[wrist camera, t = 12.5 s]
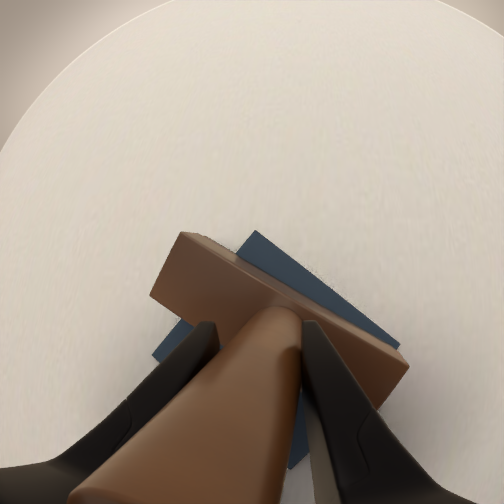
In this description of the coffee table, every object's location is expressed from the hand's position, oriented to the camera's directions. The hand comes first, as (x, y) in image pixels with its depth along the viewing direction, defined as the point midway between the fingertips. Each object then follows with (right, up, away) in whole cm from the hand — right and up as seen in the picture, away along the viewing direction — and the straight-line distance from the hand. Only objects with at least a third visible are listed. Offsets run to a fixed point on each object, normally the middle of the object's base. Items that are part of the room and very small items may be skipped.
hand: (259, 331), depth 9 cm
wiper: (+1, -1, +6) cm, 7 cm away
